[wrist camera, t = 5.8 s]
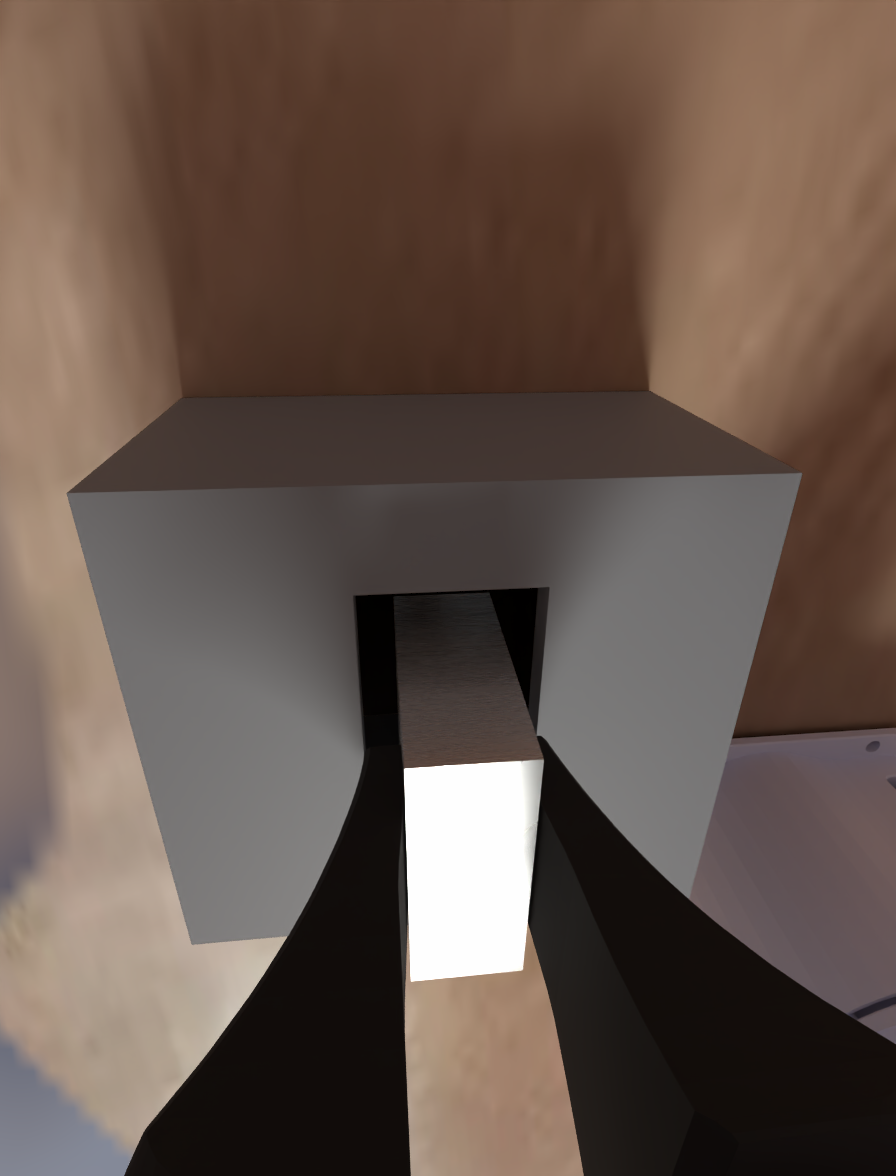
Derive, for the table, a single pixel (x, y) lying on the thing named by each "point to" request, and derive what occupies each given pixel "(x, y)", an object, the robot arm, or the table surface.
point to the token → (464, 787)
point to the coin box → (415, 565)
